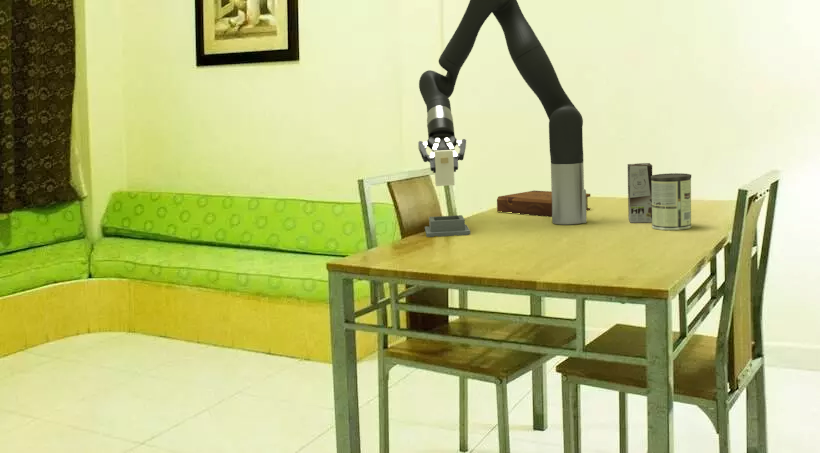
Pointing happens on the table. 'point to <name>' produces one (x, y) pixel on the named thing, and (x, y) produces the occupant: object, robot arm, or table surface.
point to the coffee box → (639, 192)
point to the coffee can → (671, 201)
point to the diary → (529, 203)
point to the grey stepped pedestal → (447, 226)
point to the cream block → (444, 167)
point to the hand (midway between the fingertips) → (444, 170)
